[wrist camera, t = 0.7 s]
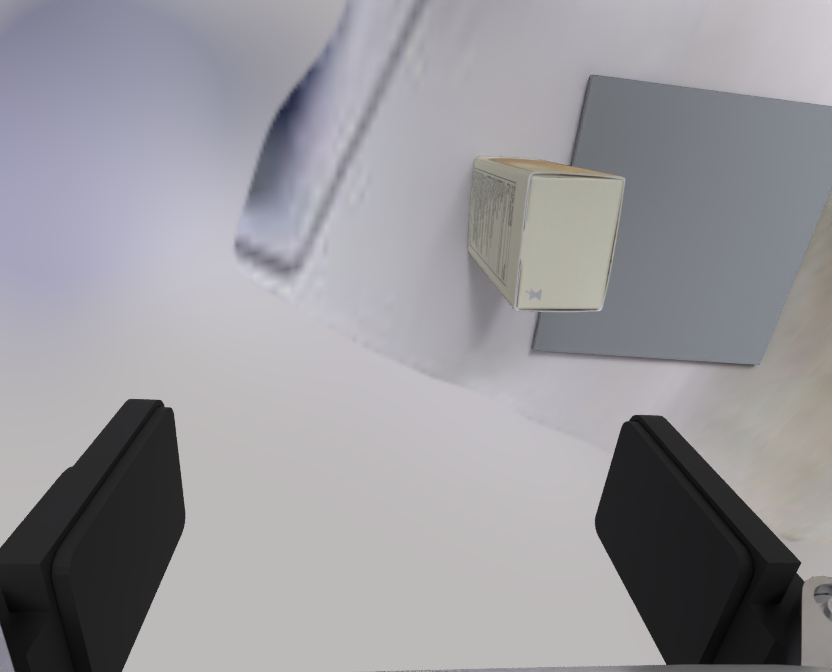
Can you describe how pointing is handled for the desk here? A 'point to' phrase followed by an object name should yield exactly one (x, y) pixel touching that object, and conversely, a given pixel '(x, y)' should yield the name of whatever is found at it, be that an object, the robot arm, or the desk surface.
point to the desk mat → (697, 219)
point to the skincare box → (544, 232)
